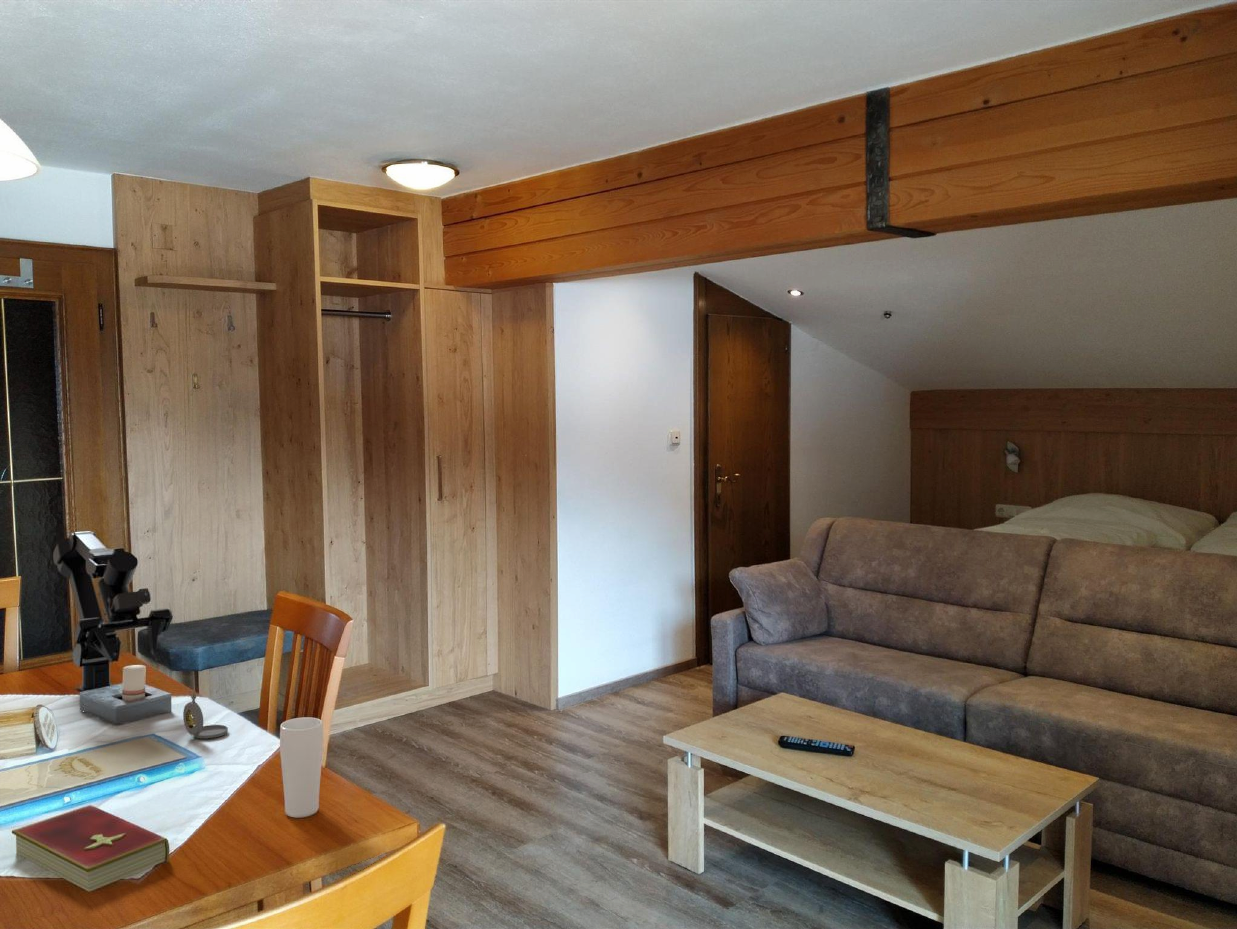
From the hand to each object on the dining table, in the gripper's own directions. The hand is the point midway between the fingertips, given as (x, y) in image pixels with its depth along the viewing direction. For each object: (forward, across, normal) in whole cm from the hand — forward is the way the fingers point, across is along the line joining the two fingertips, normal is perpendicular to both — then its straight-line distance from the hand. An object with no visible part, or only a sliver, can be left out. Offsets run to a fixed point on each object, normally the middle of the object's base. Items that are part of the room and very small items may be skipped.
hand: (133, 657), depth 208 cm
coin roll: (+8, 0, +10) cm, 13 cm away
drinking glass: (+59, +4, -41) cm, 72 cm away
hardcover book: (+55, -27, -37) cm, 71 cm away
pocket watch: (+25, +6, -7) cm, 27 cm away
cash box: (+6, 0, +12) cm, 13 cm away
